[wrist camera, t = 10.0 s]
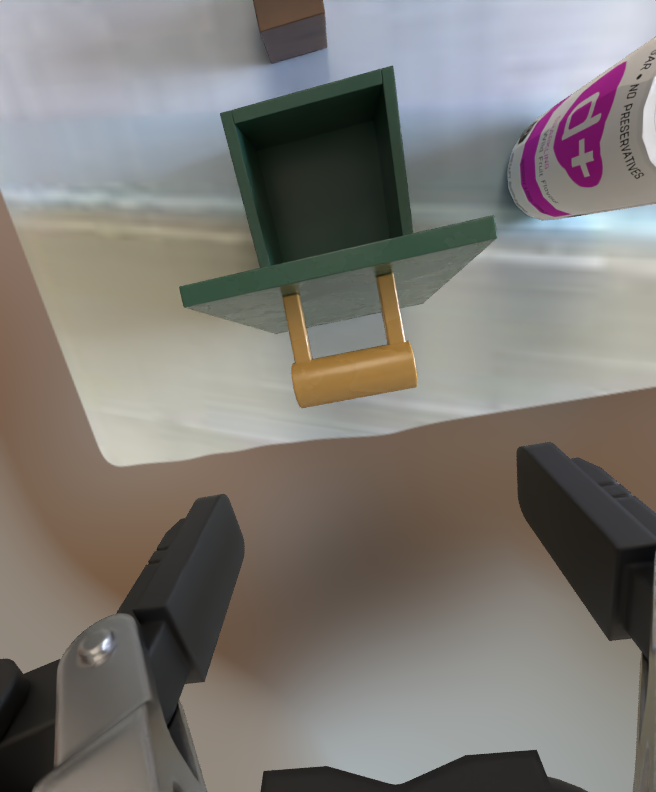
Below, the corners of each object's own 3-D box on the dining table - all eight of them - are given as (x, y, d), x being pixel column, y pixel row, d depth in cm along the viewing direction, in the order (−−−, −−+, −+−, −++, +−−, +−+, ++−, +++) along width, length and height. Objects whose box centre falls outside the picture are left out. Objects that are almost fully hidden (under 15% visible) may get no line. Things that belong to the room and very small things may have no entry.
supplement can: (493, 215, 33) (603, 189, 19) (519, 104, 30) (674, -24, 16) (582, 225, 33) (758, 206, 19) (618, 115, 30) (857, -4, 16)
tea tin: (247, 144, 32) (219, 113, 25) (380, 109, 31) (393, 64, 23) (288, 313, 37) (275, 327, 30) (404, 288, 36) (421, 297, 28)
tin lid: (178, 286, 14) (210, 430, 14) (494, 214, 13) (518, 374, 13) (273, 324, 29) (288, 393, 30) (421, 292, 28) (433, 365, 28)
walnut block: (255, -11, 28) (240, -58, 24) (314, -29, 28) (309, -81, 23) (271, 64, 30) (259, 32, 25) (327, 47, 29) (325, 12, 25)
